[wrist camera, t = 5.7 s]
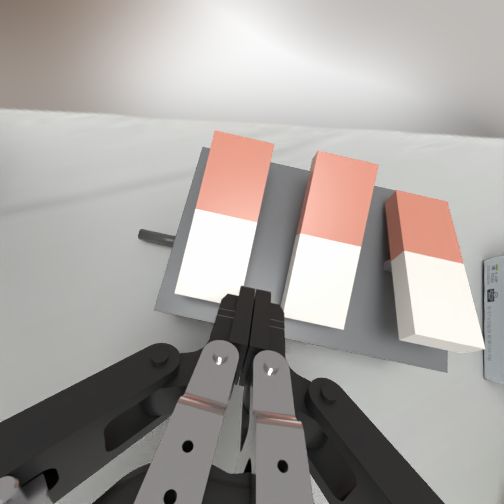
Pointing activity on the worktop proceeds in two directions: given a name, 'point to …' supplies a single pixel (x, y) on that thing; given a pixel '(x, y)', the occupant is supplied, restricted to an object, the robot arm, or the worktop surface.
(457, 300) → the rocker
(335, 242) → the block
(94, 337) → the worktop surface
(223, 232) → the block
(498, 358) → the tea box
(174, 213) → the worktop surface
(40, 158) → the worktop surface
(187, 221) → the switch console
